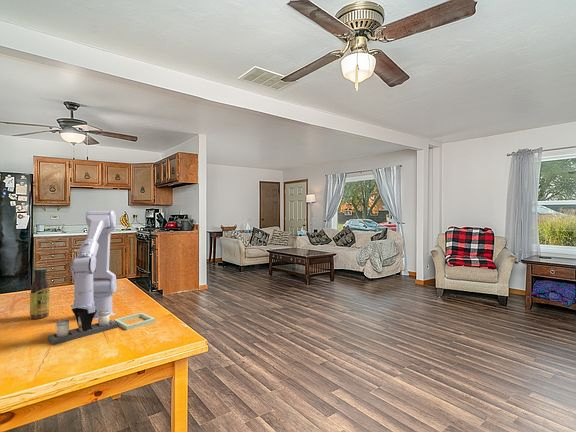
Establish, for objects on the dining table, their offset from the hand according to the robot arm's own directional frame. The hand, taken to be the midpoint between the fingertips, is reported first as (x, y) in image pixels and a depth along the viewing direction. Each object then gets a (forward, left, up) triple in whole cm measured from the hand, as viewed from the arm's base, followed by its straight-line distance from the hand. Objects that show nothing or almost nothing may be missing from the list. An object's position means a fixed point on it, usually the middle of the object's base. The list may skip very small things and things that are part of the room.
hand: (84, 328), depth 114 cm
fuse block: (0, 0, -2) cm, 2 cm away
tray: (+3, +16, -2) cm, 17 cm away
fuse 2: (0, +6, -2) cm, 7 cm away
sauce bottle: (-34, -5, -2) cm, 34 cm away
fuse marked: (0, 0, -2) cm, 2 cm away
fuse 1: (0, -6, -2) cm, 7 cm away
